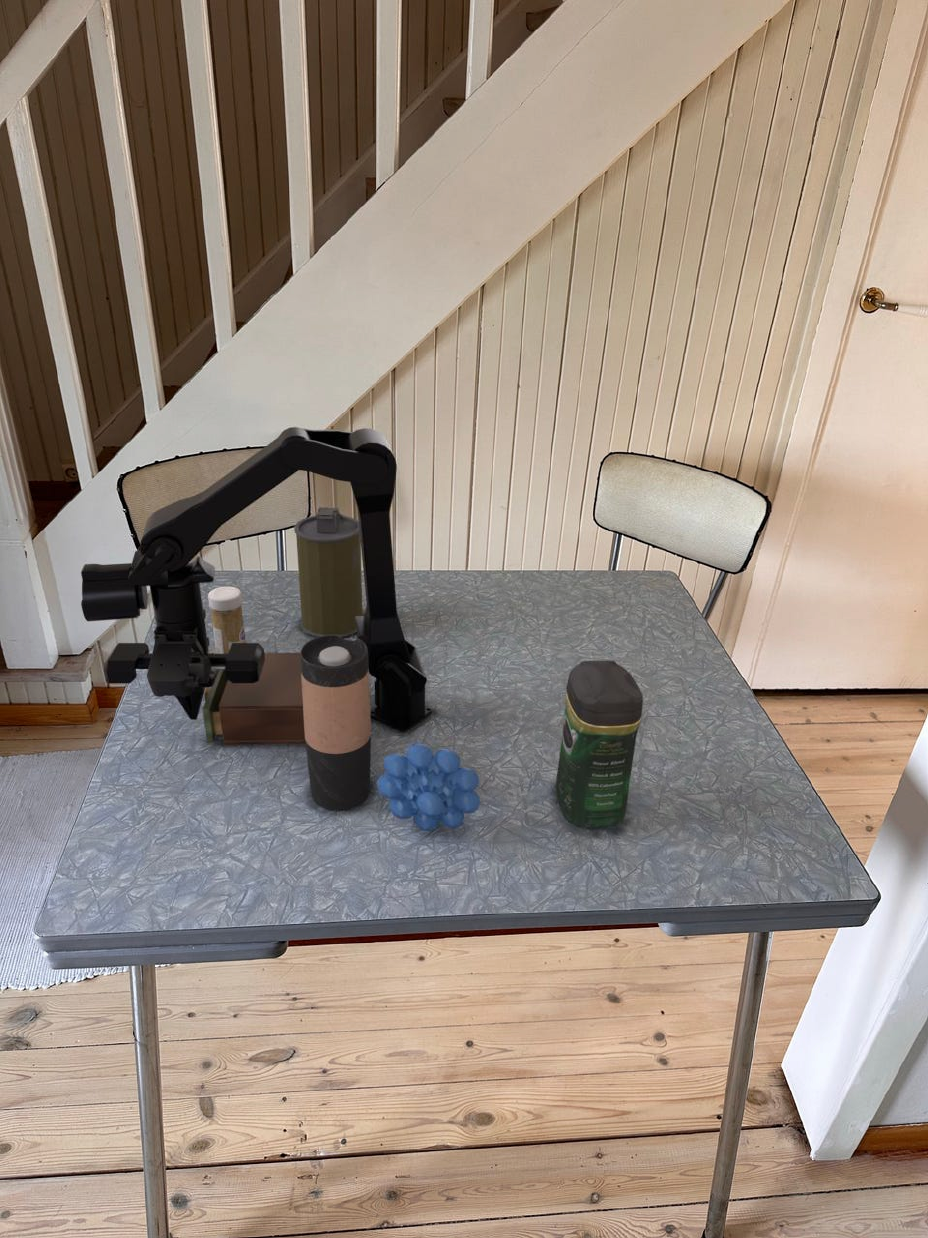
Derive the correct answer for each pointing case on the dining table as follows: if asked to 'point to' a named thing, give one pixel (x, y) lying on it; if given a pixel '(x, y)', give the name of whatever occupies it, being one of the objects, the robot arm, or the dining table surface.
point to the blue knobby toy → (429, 787)
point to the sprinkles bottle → (226, 617)
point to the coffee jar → (598, 744)
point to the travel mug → (337, 720)
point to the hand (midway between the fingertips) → (194, 717)
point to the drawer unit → (266, 705)
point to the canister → (329, 573)
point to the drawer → (214, 707)
